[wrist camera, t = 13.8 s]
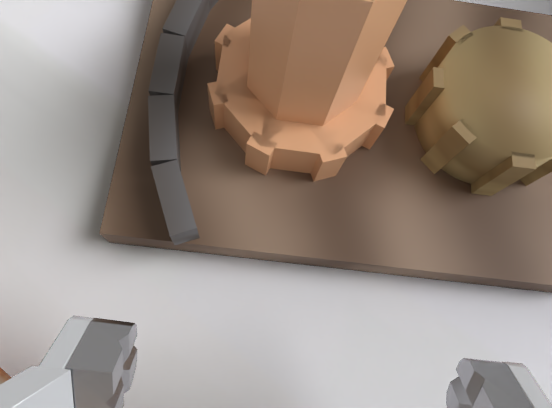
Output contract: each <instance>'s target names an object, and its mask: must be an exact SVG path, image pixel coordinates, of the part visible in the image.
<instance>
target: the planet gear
mask: <svg viewBox="0 0 552 408" xmlns="http://www.w3.org/2000/svg"><path fill="white" fill-rule="evenodd" d="M406 2H407V0H252V7H251V18H250V19H248V20H247V21H245V22H243V23H242V24H240V25H238V26H237V27H233V26H231V25H229V24H226V25H225V27H224V28H223V30H222V31H221V32H220V34H219V35H218V36H217V38H216V39H215V60H216V70H217V71H218V76H217V81H216V82H211V83H207V86H208V97H209V109H210V113H211V116H212V120H213V123H214V126H215V130H216V129H221V128H225V129H226V131H227V132H228V133H229V134H230V135H231V137H232V138H233V139H234V140H235V141H236V142H237V144H238V145H239V146H240V147H241V148H242V149H243V151H244V152H245V153H246V155H245V165H247V166H249V167H250V168H252V169H254V170H256V171H258V172H260V173H262V174H264V175H265V176H266V174H267V173H268V171H269V169H270V168H271V169H279V170H286V171H294V172H302V173H310V174H311V176H312V179H313V182H314V181H318V180H322V179H326V178H330V177H334V176H336V175H337V173H338V171H339V170H340V168H341V166H342V164H343V163H344V161H345V159H346V158H347V157H348V156H349V155H350V154H352V153H353V152H354V151H356V150H357V149H358V148H360V147H361V146H363V147H365V148H367V149H369V150H370V149H371V147H372V146H373V144H374V143H375V141H376V140H377V138H378V137H379V135H380V134H381V133H382V131H383V130H384V128H385V126H386V124H387V122H388V120H389V118H390V116H391V114H392V112H393V110H394V109H393V108H391V107H389V106H387V105H386V81H387V79H388V77H389V75H390V74H391V72H392V70H393V69H394V67H395V66H394V64H393V61H392V59H391V57H390V54H389V52H388V50H387V48H386V47H384V46H385V44H386V42H387V40H388V38H389V36H390V34H391V32H392V30H393V28H394V26H395V24H396V22H397V20H398V18H399V16H400V14H401V12H402V10H403V8H404V6H405V4H406Z"/></svg>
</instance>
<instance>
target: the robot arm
mask: <svg viewBox="0 0 552 408" xmlns="http://www.w3.org/2000/svg"><path fill="white" fill-rule="evenodd" d="M136 337H137V325H136V324H135V323H130V322H122V321H115V320H107V319H99V318H88V317H81V316H72V317H71V318H69V319H68V320H67V322H66V324H65V325H64V327H63V328H62V330H61V332H60V333H59V335H58V336H57V338H56V340H55V341H54V343H53V344H52V346H51V347H50V349H49V351H48V352H47V354H46V355H45V357H44V359H43V360H42V362H41V363H40V365H39V366H31V367H29V368H28V369H26V370H24V371H22V372H21V373H19V374H17V375H16V376H14V377H12V378H11V379H9V380H7V381H6V382H4V383H2V384H0V408H123V406H124V393H125V392H127V391H128V390H129V389H130V387H131V384H132V381H133V378H134V373H135V369H136V363H137V349H136V348H135V346H134V342H135V340H136ZM456 371H457V373H458V375H459V377H457V378H456V379H454V380H453V381H451V382H450V384H449V387H448V390H447V396H446V405H447V408H552V404H551V403H550V401H549V400H548V398H547V397H546V395H545V394H544V392H543V391H542V389H541V388H540V386H539V385H538V383H537V382H536V380H535V378H534V377H533V375H532V374H531V372H530V371H529V369H528V368H527V367H526V366H525V365H523V364H521V363H510V362H497V361H487V360H477V359H466V358H463V359H462V360H461V361H460V362H459V363H458V366H457V368H456Z"/></svg>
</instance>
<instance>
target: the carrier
mask: <svg viewBox="0 0 552 408" xmlns="http://www.w3.org/2000/svg"><path fill="white" fill-rule="evenodd" d="M251 7H252V0H153V2H152V7H151V11H150V15H149V20H148V24H147V28H146V33H145V37H144V41H143V46H142V50H141V54H140V59H139V63H138V67H137V72H136V76H135V80H134V85H133V89H132V94H131V98H130V102H129V107H128V111H127V115H126V120H125V124H124V128H123V133H122V137H121V141H120V146H119V150H118V154H117V159H116V163H115V167H114V172H113V176H112V180H111V185H110V189H109V193H108V198H107V202H106V206H105V211H104V215H103V220H102V224H101V228H100V233H99V234H101V235H102V236H103V237H104V238H105V239H106V240H107V241H108V242H111V243H120V244H128V245H137V246H146V247H155V248H164V249H173V250H181V251H190V252H199V253H208V254H217V255H225V256H234V257H243V258H252V259H261V260H270V261H278V262H287V263H296V264H305V265H314V266H323V267H331V268H340V269H349V270H358V271H367V272H376V273H384V274H393V275H402V276H411V277H420V278H429V279H437V280H446V281H455V282H464V283H473V284H481V285H490V286H499V287H508V288H517V289H526V290H534V291H543V292H552V15H546V14H539V13H533V12H526V11H520V10H513V9H507V8H500V7H494V6H487V5H480V4H474V3H467V2H461V1H454V0H407V2H406V4H405V6H404V8H403V10H402V12H401V14H400V16H399V18H398V20H397V22H396V24H395V26H394V28H393V30H392V32H391V34H390V36H389V38H388V40H387V42H386V44H385V46H384V47H386V48H387V50H388V52H389V54H390V57H391V59H392V61H393V64H394V66H395V67H394V69H393V70H392V72H391V74H390V75H389V77H388V79H387V81H386V105H387V106H389V107H391V108H393V109H394V110H393V112H392V114H391V116H390V118H389V120H388V122H387V124H386V126H385V128H384V130H383V131H382V133H381V134H380V135H379V137H378V138H377V140H376V141H375V143H374V144H373V146H372V147H371V149H370V150H369V149H367V148H365V147H363V146H361V147H360V148H358V149H357V150H356V151H354V152H353V153H352V154H350V155H349V156H348V157H347V158H346V159H345V161H344V163H343V164H342V166H341V168H340V170H339V171H338V173H337V175H336V176H334V177H330V178H326V179H322V180H318V181H314V182H313V179H312V176H311V174H310V173H302V172H294V171H286V170H279V169H271V168H270V169H269V171H268V173H267V174H266V176H265V175H264V174H262V173H260V172H258V171H256V170H254V169H252V168H250V167H249V166H247V165H245V155H246V153H245V152H244V151H243V149H242V148H241V147H240V146H239V145H238V144H237V142H236V141H235V140H234V139H233V138H232V137H231V135H230V134H229V133H228V132H227V131H226V129H225V128H221V129H216V130H215V126H214V123H213V120H212V116H211V113H210V109H209V97H208V86H207V83H211V82H216V81H217V76H218V71H217V70H216V60H215V39H216V38H217V36H218V35H219V34H220V32H221V31H222V30H223V28H224V27H225V25H226V24H229V25H231V26H233V27H237V26H238V25H240V24H242V23H243V22H245V21H247V20H248V19H250V18H251Z"/></svg>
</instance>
